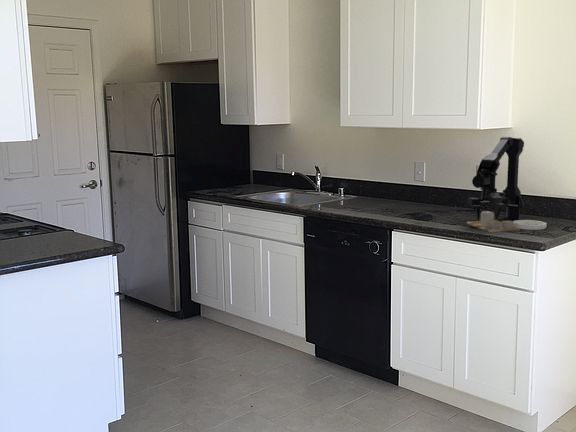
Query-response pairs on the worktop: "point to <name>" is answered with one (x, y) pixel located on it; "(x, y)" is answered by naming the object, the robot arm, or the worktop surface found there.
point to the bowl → (529, 224)
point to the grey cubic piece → (507, 224)
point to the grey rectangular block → (486, 217)
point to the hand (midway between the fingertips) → (487, 219)
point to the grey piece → (493, 225)
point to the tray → (477, 224)
